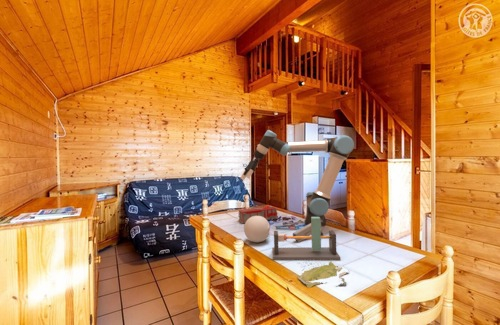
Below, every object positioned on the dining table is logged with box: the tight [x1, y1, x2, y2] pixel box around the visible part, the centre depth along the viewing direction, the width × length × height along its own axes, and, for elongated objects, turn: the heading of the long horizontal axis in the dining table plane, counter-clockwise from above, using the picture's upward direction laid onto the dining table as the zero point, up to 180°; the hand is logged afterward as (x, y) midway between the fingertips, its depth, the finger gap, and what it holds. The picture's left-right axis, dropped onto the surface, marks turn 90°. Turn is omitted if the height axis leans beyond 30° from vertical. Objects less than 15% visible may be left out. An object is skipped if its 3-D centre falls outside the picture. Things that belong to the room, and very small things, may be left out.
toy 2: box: [243, 216, 271, 243], centre depth 143 cm, size 15×15×15 cm
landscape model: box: [297, 261, 351, 289], centre depth 99 cm, size 24×15×2 cm, turn 123°
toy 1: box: [238, 205, 279, 224], centre depth 189 cm, size 10×30×10 cm, turn 110°
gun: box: [292, 219, 325, 243], centre depth 146 cm, size 2×25×10 cm, turn 121°
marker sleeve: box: [311, 217, 322, 250], centre depth 122 cm, size 4×3×16 cm
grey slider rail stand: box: [271, 229, 341, 261], centre depth 122 cm, size 32×12×12 cm, turn 85°
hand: (244, 178), depth 167 cm, fingers open, 13 cm apart
